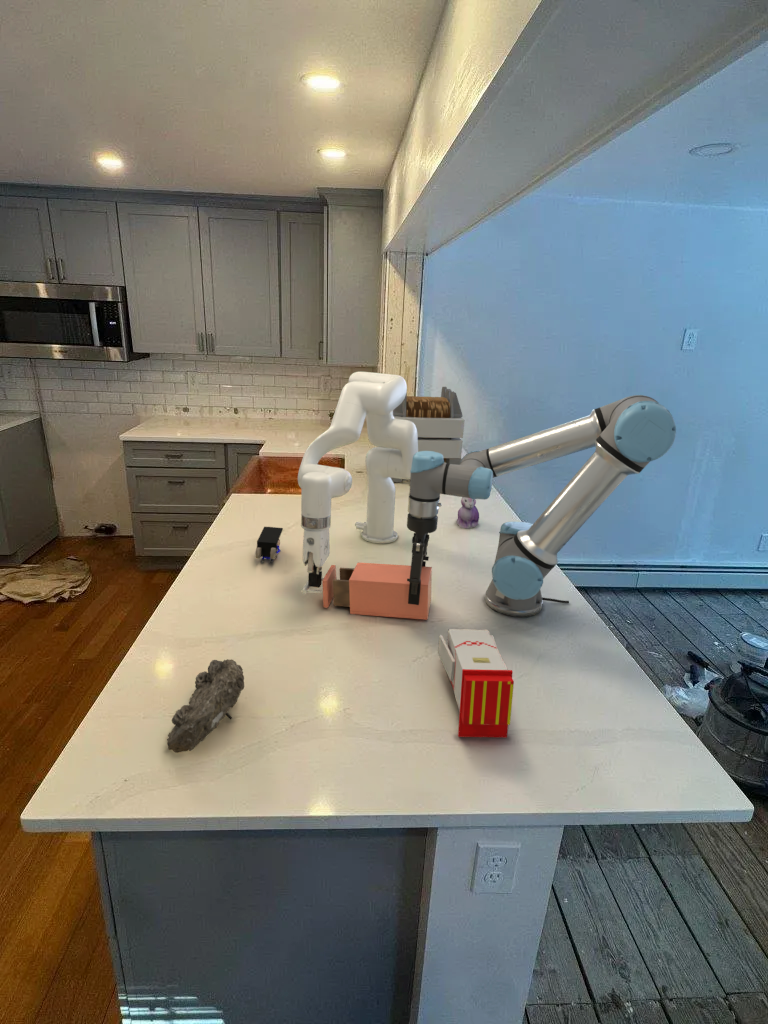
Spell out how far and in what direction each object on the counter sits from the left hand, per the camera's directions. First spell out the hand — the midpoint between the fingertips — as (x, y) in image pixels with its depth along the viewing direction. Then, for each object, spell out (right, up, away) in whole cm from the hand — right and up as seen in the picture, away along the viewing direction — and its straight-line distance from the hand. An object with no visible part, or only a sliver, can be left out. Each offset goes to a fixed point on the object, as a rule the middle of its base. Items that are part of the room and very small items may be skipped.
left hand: (314, 585), depth 151 cm
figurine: (+50, +15, +60) cm, 80 cm away
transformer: (+36, +38, +124) cm, 135 cm away
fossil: (-14, -20, -43) cm, 49 cm away
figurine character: (-17, +6, +26) cm, 32 cm away
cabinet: (+20, -5, -1) cm, 21 cm away
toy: (+36, -18, -32) cm, 52 cm away
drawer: (+10, -4, +1) cm, 11 cm away
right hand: (+27, -2, -3) cm, 27 cm away
